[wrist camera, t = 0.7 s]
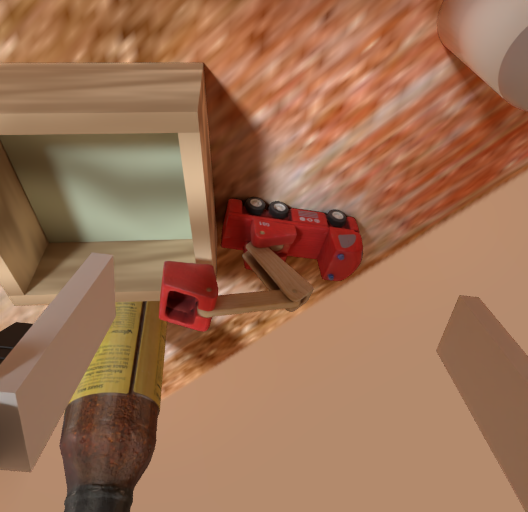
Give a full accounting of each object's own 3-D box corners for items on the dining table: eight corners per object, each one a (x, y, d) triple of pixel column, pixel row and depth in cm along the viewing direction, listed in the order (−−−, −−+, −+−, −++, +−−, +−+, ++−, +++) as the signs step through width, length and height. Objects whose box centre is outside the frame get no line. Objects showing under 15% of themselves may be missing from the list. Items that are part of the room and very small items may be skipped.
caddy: (-44, 63, 22) (-109, 114, 18) (203, 62, 23) (197, 111, 18) (44, 243, 31) (14, 305, 27) (217, 238, 32) (215, 298, 27)
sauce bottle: (84, 301, 36) (-9, 593, 22) (114, 260, 33) (28, 572, 18) (152, 326, 39) (110, 596, 25) (186, 290, 36) (160, 577, 22)
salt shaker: (451, -34, 20) (556, 19, 14) (530, -33, 20) (668, 20, 14) (427, 52, 23) (504, 130, 17) (496, 52, 23) (598, 129, 17)
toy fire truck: (344, 244, 33) (374, 347, 26) (171, 220, 30) (155, 328, 23) (360, 212, 31) (398, 316, 24) (175, 182, 28) (159, 290, 21)
